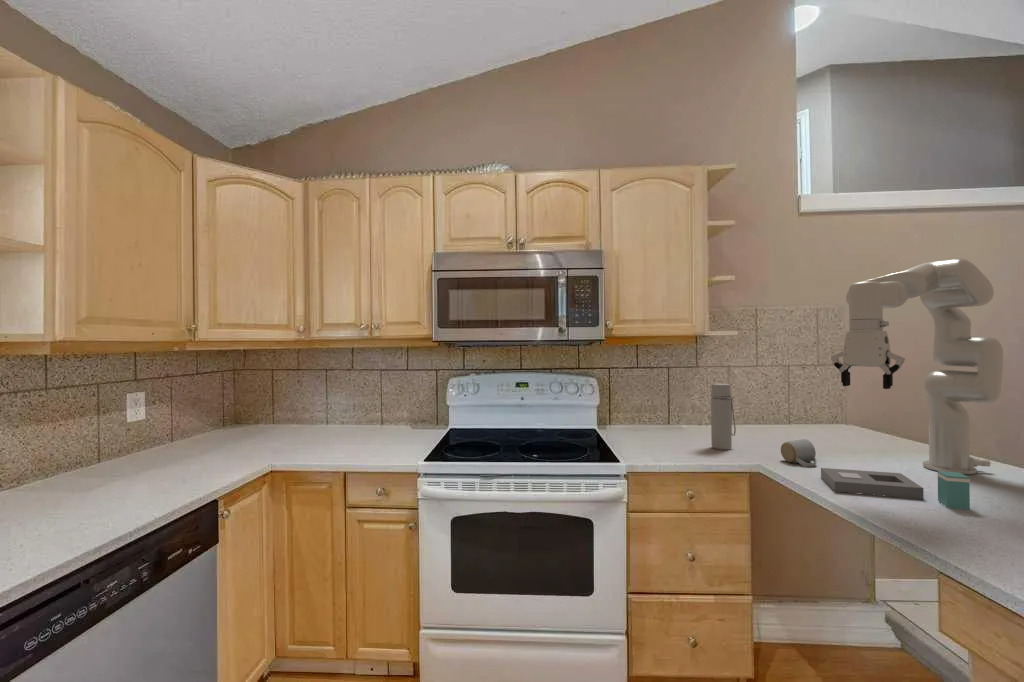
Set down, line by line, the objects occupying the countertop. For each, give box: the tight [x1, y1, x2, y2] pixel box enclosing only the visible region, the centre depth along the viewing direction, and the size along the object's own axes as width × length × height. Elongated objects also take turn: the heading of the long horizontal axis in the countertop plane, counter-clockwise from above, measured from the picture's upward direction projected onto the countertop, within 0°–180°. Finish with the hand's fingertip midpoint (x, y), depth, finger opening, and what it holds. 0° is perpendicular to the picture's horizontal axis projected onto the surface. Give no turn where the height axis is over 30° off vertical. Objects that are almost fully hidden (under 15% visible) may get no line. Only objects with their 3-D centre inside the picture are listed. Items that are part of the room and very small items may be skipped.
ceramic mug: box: [780, 438, 817, 468], centre depth 160 cm, size 11×8×8 cm
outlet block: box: [820, 467, 924, 500], centre depth 134 cm, size 20×14×3 cm
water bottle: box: [710, 382, 737, 451], centre depth 183 cm, size 9×8×25 cm
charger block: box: [936, 471, 971, 510], centre depth 120 cm, size 5×5×8 cm
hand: (866, 387), depth 132 cm, fingers open, 9 cm apart
